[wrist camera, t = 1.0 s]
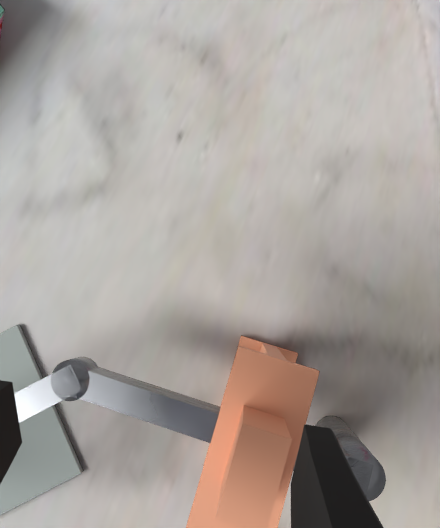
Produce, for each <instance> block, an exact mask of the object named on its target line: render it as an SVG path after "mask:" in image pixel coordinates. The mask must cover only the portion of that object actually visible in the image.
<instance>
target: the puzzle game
mask: <svg viewBox="0 0 440 528" xmlns="http://www.w3.org/2000/svg"><path fill="white" fill-rule="evenodd" d="M4 10H5V9H4V8H3V7H2V6H1V4H0V37H1V29H2V21H3V16H4Z"/></svg>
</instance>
